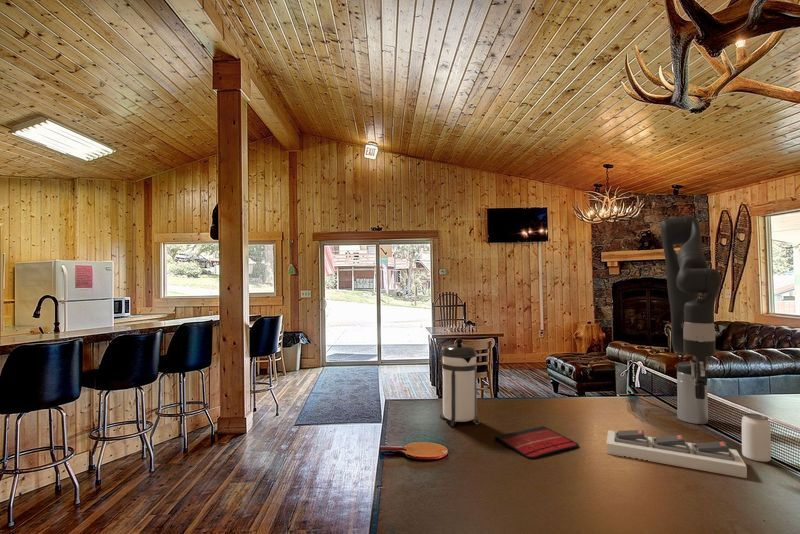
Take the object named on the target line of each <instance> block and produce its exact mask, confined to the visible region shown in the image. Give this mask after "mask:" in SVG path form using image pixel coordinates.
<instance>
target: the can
mask: <svg viewBox="0 0 800 534" xmlns="http://www.w3.org/2000/svg"><path fill="white" fill-rule="evenodd" d="M771 427H772V426H771V423H770V421H769V417H768V416H765V415H762V414H760V413H759V414H758V413H750V412H744V413H743V415H742V418H741V455H742V456H743V457H744V458H745V459H748V460H751V461H754V462H760V463H768V462H770V461H772V460H771V459H772V451H771V449H772V447H771V446H772V442H771V440H772V438H771V436H772V435H771V431H772V430H771Z"/></svg>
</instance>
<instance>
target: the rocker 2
mask: <svg viewBox="0 0 800 534" xmlns="http://www.w3.org/2000/svg"><path fill="white" fill-rule="evenodd" d="M655 438H656V442H657V445H661V446H672V445H682V444H685V442H686V441H685V439H684V436H683V434H677V435H666V436H665V435H664V436H656V437H655Z"/></svg>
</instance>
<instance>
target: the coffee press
mask: <svg viewBox="0 0 800 534" xmlns="http://www.w3.org/2000/svg"><path fill="white" fill-rule="evenodd" d="M455 342H456V343H454V344H448V345H446V346H444V348H443V349H442V351H441V355H442V362H441V368H442V412H441V413H440V415H439V418H440V419H444V418H445V419H447V420H449V421H450V425H449V426H450V428H455V427H456V424H457V422H458V423H459V422H460V423H462V422H463V423H465V422H469V421H472V422H473V423H474V424H475V425H479V424H480V423H481V421H480V418H479V417H478V414H477V413H478V411H477V409H478V407H477V405H478V403H477V402H478V401H477V397H478V396H477V394H478V393H477V383H478V382H477V380H478V379H477V375H478V373H477V368H478V367H477V365H478V363H477V356H478V352H477V351H476V349H475V347H473V346H471V345H469V344H462V343H463V339H462V338H460V337H459V338H457V339H456V340H455ZM442 415H443V416H442ZM475 419H476V420H475Z"/></svg>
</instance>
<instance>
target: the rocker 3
mask: <svg viewBox="0 0 800 534" xmlns="http://www.w3.org/2000/svg"><path fill="white" fill-rule="evenodd" d="M695 444H696V445H697V448H698V451H699V452H704V453H710V452H728V451H729V449H730V448H729V446H728V444H727V443H726V441H724V440H723V441H709V442H696V443H695Z"/></svg>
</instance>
